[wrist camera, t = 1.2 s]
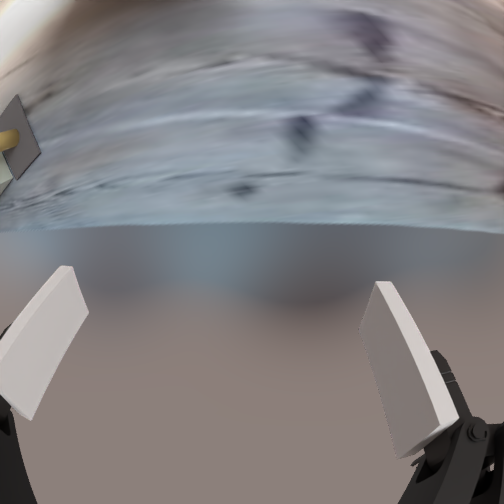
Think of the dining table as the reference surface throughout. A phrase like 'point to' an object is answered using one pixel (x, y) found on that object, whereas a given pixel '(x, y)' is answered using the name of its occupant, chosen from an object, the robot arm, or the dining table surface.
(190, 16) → the dining table surface
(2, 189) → the hole block
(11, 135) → the peg
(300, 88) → the dining table surface
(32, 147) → the mat
